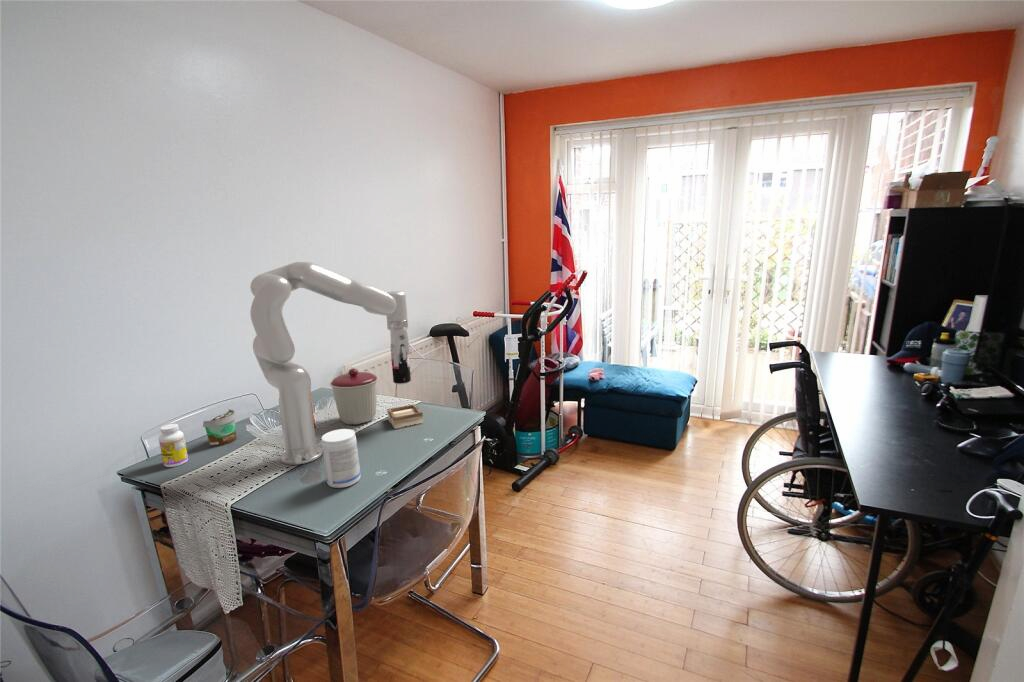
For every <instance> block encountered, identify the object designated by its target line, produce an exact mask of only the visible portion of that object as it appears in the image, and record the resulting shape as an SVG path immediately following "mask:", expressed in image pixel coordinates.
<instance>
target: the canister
mask: <svg viewBox="0 0 1024 682" xmlns="http://www.w3.org/2000/svg"><path fill="white" fill-rule="evenodd" d="M378 381H379V376H378V375H375V374H373V373H370V372H367V371H364V372H363V371H359V370H358V369H357V368H350V369H349V370H348V373H344V374H341V375H338V376H336V377H334V378H333V379H331V380H330V382H329V385H330V386H329V387H331V388H332V393H333V397H334V401H335V405H336V410H337V414H338V417H339V419H340V418H341V419H340V421H341V420H342V421H343V423H344V424H345V425H346V424H347V425H352V424H353V425H354V424H355V425H360V424H361V423H362V424H365V422H366V423H369V422H370V421H372V420H373V419H374V418H375V416H376V414H377V402H378V401H377V395H378V394H377V393H378V391H377V390H378V383H377V382H378ZM362 424H361V425H362Z"/></svg>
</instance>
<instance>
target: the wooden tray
mask: <svg viewBox="0 0 1024 682" xmlns="http://www.w3.org/2000/svg"><path fill="white" fill-rule="evenodd" d="M423 416H424V415H423V412H422V411H421V409H420V408H419V407H418V406H417V405H416V404H415V403H413V404H409V405H403V406H398V407H392V408H388V409H387V419H388V421H389V423H390V424H391V426H392V427H393V429H395V430H396V429H400V428H401V429H402V428H405V426H406V427H410V425H411V426H415V425H414V424H416V425H420V424H419V423H421V424H424V417H423Z"/></svg>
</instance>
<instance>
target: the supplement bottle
mask: <svg viewBox="0 0 1024 682" xmlns="http://www.w3.org/2000/svg"><path fill="white" fill-rule="evenodd" d="M160 433H161V435H159V436H158V442H159V446H160V447H159V449H160V452H161V457H162V463H163V466H164V467H167V468H175V467H178V466H181V465H184V464H186V463H187V462H188V460H189V454H188V450H187V444H186V440H185V434H184V432H183V431H181V430H180V427H179V424H178V423H169V424H165V425H163V426H161V427H160Z"/></svg>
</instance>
